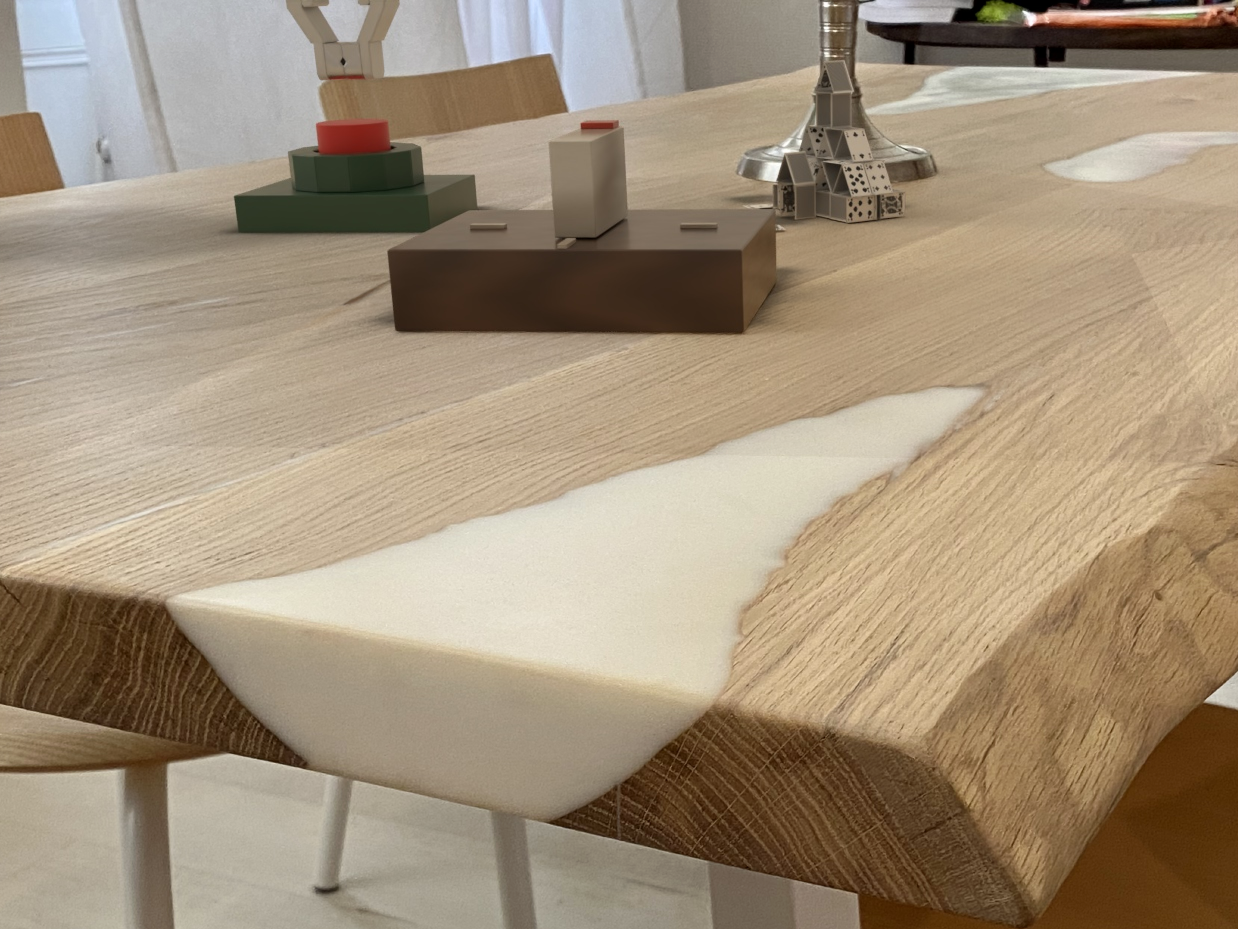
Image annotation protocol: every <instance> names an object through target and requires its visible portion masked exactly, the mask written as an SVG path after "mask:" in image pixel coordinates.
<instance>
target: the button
mask: <svg viewBox="0 0 1238 929" xmlns="http://www.w3.org/2000/svg"><path fill="white" fill-rule="evenodd" d="M315 131H316V139H317V146H318V149H319V153H363V152H376V151H384V150H391V146H390V142H391V137H390V127H389V120H387V119H383V118H349V119H348V118H346V119H345V118H344V119H332V120H324V121H319V122H316V123H315Z"/></svg>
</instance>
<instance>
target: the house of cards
mask: <svg viewBox="0 0 1238 929" xmlns="http://www.w3.org/2000/svg"><path fill="white" fill-rule="evenodd" d="M849 73H850V72H849V71H848V67H847V64H846V60H845V59H838V60H836V59H835V60H824V61H823V63H822V67H821V70H820V74H819V76H818V80H817V83H816V87H815V90H814V92H815V124H810V125H809V124H807V125H806V126H805V130H804V133H803V137H802V139H801V143H800V146H799V148H798V151H790V152H784V154H783V156H782V160H781V163H780V167H779V170H778V173H777V177H776V180H775V182H777V183H773V184H771V185H772V203H764V204H763V203H762V204H747V205H743V207H744V208H745V209H768V208H772V209H774V210H775V209H779V217H788V216H789V217H790V216H794V220H802V219H813V218H816V217H821V218H828V219H829V220H834V221H839V222H843V223H845V224H848V223H849V224H850V223H858V222H867V221H878V220H882V219H888V218H889V219H890V218H898V217H899V218H900V217H905V216H906V190H901V189H895V188H893V186H892V183H891V180H890V176H889V174H888V170H887V167H886V164H885V160H884V159H876V158H874V156H873V153H872V150H871V146H870V143H869V140H868V137H867V134H866V131H865V130H866V129H865V128H862V127H853V126H852V93H854V92H855V90H854V87H853V83H852V80H851V77H850V74H849ZM776 231H787V229H786V228H785V227H783V226H782V225H780V224H776Z"/></svg>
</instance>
